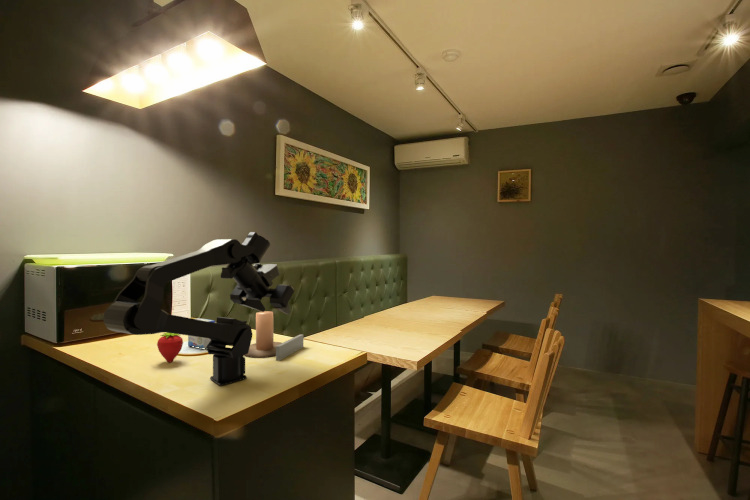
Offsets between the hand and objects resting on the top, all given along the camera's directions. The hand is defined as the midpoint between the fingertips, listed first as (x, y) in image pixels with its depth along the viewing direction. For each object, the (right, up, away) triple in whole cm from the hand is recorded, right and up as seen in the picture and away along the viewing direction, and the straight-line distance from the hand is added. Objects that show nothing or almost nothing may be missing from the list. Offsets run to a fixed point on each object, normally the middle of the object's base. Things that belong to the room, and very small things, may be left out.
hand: (276, 311), depth 101 cm
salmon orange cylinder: (-6, -13, +8) cm, 16 cm away
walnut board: (-6, -14, +8) cm, 17 cm away
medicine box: (-28, -14, +13) cm, 33 cm away
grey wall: (+3, -14, +5) cm, 15 cm away
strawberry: (-29, -14, -3) cm, 32 cm away
